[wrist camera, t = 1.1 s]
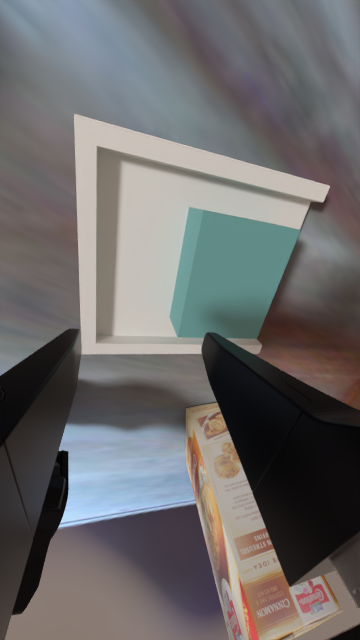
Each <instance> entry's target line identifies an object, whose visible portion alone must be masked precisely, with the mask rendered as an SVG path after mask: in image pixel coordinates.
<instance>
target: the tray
mask: <svg viewBox="0 0 360 640" xmlns="http://www.w3.org/2000/svg"><path fill="white" fill-rule="evenodd" d="M74 128H75V159H76V190H77V221H78V252H79V283H80V314H81V344H82V354H202V352H201V348H202V344H203V340H204V338H186V337H177V335H176V332H175V330H174V327H173V325H172V322H171V320H170V311H171V306H172V300H173V295H174V289H175V283H176V278H177V272H178V266H179V261H180V255H181V250H182V244H183V238H184V233H185V227H186V221H187V216H188V210H189V207H192V208H197V209H202V210H207V211H212V212H217V213H222V214H227V215H232V216H237V217H242V218H247V219H252V220H257V221H262V222H267V223H272V224H277V225H281V226H286V227H290V228H294V229H299V230H300V228H301V225H302V223H303V220H304V218H305V215H306V213H307V211H308V208H309V206H310V203H311V202H324V199H325V197H326V195H327V192H328V190H329V188H330V186H328V185H325V184H321V183H318V182H314V181H311V180H307V179H303V178H300V177H296V176H293V175H289V174H286V173H282V172H279V171H275V170H272V169H268V168H264V167H261V166H257V165H254V164H250V163H247V162H243V161H240V160H236V159H232V158H229V157H225V156H222V155H218V154H215V153H211V152H208V151H204V150H201V149H197V148H193V147H190V146H186V145H183V144H179V143H176V142H172V141H169V140H165V139H161V138H158V137H154V136H151V135H147V134H144V133H140V132H137V131H133V130H130V129H126V128H122V127H119V126H115V125H112V124H108V123H105V122H101V121H98V120H94V119H90V118H87V117H83V116H80V115H76V114H74ZM226 339H227V340H229V341H231V342H233V343H235V344H236V345H238V346H240V347H242V348H243V349H245V350H247V351H249V352H250V353H252V354H259V352H260V350H261V348H262V344H261V343H260V342H259V341H258V340H257V339H238V338H226Z"/></svg>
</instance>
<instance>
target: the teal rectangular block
mask: <svg viewBox="0 0 360 640" xmlns="http://www.w3.org/2000/svg"><path fill="white" fill-rule="evenodd" d="M300 231H301V230H299V229H294V228H290V227H286V226H281V225H277V224H272V223H267V222H262V221H257V220H252V219H247V218H242V217H237V216H232V215H227V214H222V213H217V212H212V211H207V210H202V209H197V208H192V207H189V210H188V216H187V221H186V227H185V233H184V238H183V244H182V250H181V255H180V261H179V266H178V272H177V278H176V283H175V289H174V295H173V300H172V306H171V311H170V320H171V322H172V325H173V327H174V330H175V332H176V335H177V337H186V338H204V336H205V334H206V333H207V332H215V333H217V334H219V335H220V336H222V337H224V338H238V339H257V337H258V335H259V332H260V330H261V327H262V325H263V322H264V320H265V317H266V315H267V312H268V310H269V307H270V305H271V302H272V300H273V297H274V295H275V293H276V290H277V288H278V285H279V283H280V280H281V278H282V275H283V273H284V270H285V268H286V265H287V263H288V260H289V258H290V255H291V253H292V250H293V248H294V246H295V243H296V241H297V238H298V236H299V233H300Z"/></svg>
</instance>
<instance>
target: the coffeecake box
mask: <svg viewBox="0 0 360 640" xmlns="http://www.w3.org/2000/svg"><path fill="white" fill-rule="evenodd" d="M186 465H187V468H188V472H189V476H190V480H191V484H192V488H193V492H194V496H195V500H196V504H197V508H198V512H199V516H200V520H201V524H202V528H203V532H204V537H205V541H206V545H207V549H208V553H209V556H210V561H211V564H212V569H213V573H214V578H215V582H216V586H217V590H218V593H219V598H220V602H221V606H222V610H223V614H224V618H225V622H226V626H227V630H228V634H229V639H230V640H292V639H294V638H296V637H298V636H300V635H302V634H304V633H306V632H308V631H310V630H312V629H313V628H315V627H317V626H318V625H320V624H321V623H323V622H325V621H327V620H328V619H330V618H332V617H334V616H335V615H338V614H340V613H342V612H343V609H342V607H341V606H340V604H339V603H338V601H337V599H336V597H335V596H334V594H333V592H332V590H331V588H330V587H329V584H328V583H327V581H326V579H325V577H324V575H321V576H319V577H316V578H314V579H311V580H308V581H306V582H303V583H300V584H298V585H295V586H292V587H289V585H288V583H287V581H286V578H285V576H284V573H283V571H282V568H281V566H280V563H279V560H278V558H277V555H276V553H275V550H274V548H273V545H272V542H271V540H270V537H269V535H268V532H267V530H266V527H265V524H264V522H263V519H262V517H261V514H260V512H259V509H258V506H257V504H256V501H255V499H254V496H253V494H252V492H253V491H251V488H250V485H249V483H248V480H247V478H246V475H245V473H244V470H243V467H242V465H241V462H240V460H239V457H238V455H237V452H236V449H235V447H234V444H233V442H232V439H231V437H230V434H229V431H228V429H227V426H226V424H225V421H224V419H223V416H222V413H221V411H220V408H219V406H218V403H217V402H216V403H211V404H204V405H198V406H194V407H189V408H186Z"/></svg>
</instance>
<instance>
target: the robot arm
mask: <svg viewBox="0 0 360 640" xmlns="http://www.w3.org/2000/svg"><path fill="white" fill-rule="evenodd" d="M81 350H82V344H81V330H80V329H68V330H66V331H65V332H63V333H62V334H60V335H59V336H57V337H56V338H55V339H53V340H52V341H50V342H49V343H47V344H46V345H44V346H43V347H42V348H40V349H39V350H37V351H36V352H34V353H33V354H31V355H30V356H29V357H27V358H26V359H24V360H23V361H21V362H20V363H18V364H17V365H15V366H14V367H13V368H11V369H10V370H8V371H7V372H5V373H4V374H2V375H1V376H0V640H4V639H5V636H6V632H7V629H8V625H9V622H10V618H11V615H17V614H21V613H22V612H23V611H24V610H25V608H26V607H27V605H28V604H29V602H30V600H31V598H32V597H33V595H34V593H35V591H36V590H37V588H38V586H39V582H40V578H41V574H42V569H43V565H44V561H45V557H46V553H47V550H48V546H49V543H50V540H51V538H52V537H53V535H54V534H55V532H56V530H57V528H58V526H59V524H60V522H61V519H62V517H63V514H64V510H65V507H66V503H67V498H68V451H63V450H62V451H58V450H59V446H60V443H61V439H62V436H63V432H64V429H65V425H66V422H67V418H68V415H69V411H70V408H71V404H72V401H73V397H74V394H75V390H76V386H77V380H78V373H79V366H80V358H81ZM201 352H202V356H203V360H204V364H205V368H206V372H207V376H208V379H209V382H210V385H211V388H212V390H213V393H214V395H215V398H216V400H217V403H218V406H219V408H220V411H221V413H222V416H223V419H224V421H225V424H226V426H227V429H228V431H229V434H230V437H231V439H232V442H233V444H234V447H235V449H236V452H237V455H238V457H239V460H240V462H241V465H242V467H243V470H244V473H245V475H246V478H247V480H248V483H249V485H250V488H251V491H253V492H252V494H253V496H254V499H255V501H256V504H257V506H258V509H259V512H260V514H261V517H262V519H263V522H264V524H265V527H266V530H267V532H268V535H269V537H270V540H271V542H272V545H273V548H274V550H275V553H276V555H277V558H278V560H279V563H280V566H281V568H282V571H283V573H284V576H285V578H286V581H287V583H288V585H289V587H292V586H295V585H298V584H300V583H303V582H306V581H308V580H311V579H314V578H316V577H319V576H321V575H324V574H327V573H329V572H332V571H336V573H337V575H338V576H339V578H340V580H341V582H342V583H343V585H344V587H345V588H346V590H347V592H348V594H349V596H350V597H351V599H352V601H353V603H354V604H355V606H356V608H359V607H360V410H358V409H355V408H353V407H351V406H349V405H347V404H345V403H343V402H341V401H339V400H337V399H335V398H333V397H331V396H329V395H327V394H325V393H323V392H321V391H319V390H317V389H315V388H313V387H311V386H309V385H307V384H305V383H303V382H302V381H300V380H298V379H296V378H294V377H293V376H291V375H289V374H287V373H285V372H284V371H281V370H280V369H278V368H277V367H275V366H273V365H271V364H270V363H268V362H266V361H264V360H263V359H261V358H259V357H257V356H256V355H254V354H252V353H250V352H249V351H247V350H245V349H243V348H242V347H240V346H238V345H236V344H235V343H233V342H231V341H229V340H227V339H226V338H224V337H222V336H220V335H219V334H217V333H215V332H207V333H206V334H205V336H204V340H203V344H202V348H201ZM326 640H360V623H359V624H357V625H355V626H353V627H351V628H349V629H347V630H345V631H342V632H341V633H338V634H336V635H334V636H332V637H330V638H328V639H326Z"/></svg>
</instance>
